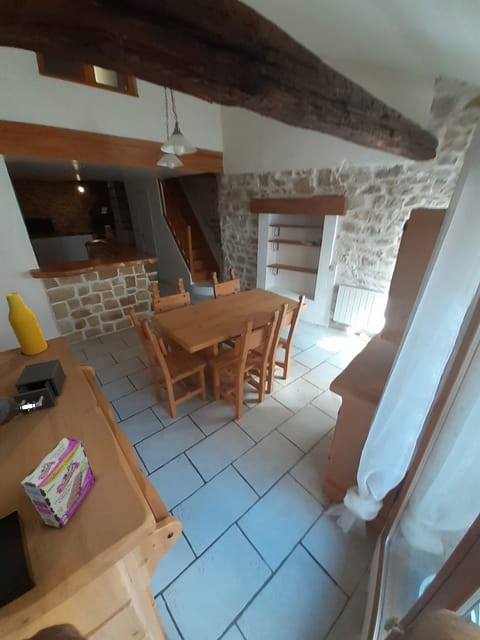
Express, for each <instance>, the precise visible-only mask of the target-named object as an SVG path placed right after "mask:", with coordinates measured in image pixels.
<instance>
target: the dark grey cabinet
mask: <svg viewBox="0 0 480 640" xmlns="http://www.w3.org/2000/svg"><path fill="white" fill-rule="evenodd" d="M65 379H66V374H65V372H64V369H63V367H62V364H61V361H60V359H53V360H49V361H43V362H38V363H33V364H27V365H25V366H24V368H23V370H22V371H21V373H20V376H19V377H18V378H17V380H16V383H15V385H14V386H15V388H16V390H17V392H18V393H19V390H20V388H21V386H23V385H28V384H32V383H37V382H42V381H47V380H51V383H52V385H53V388H54V390H55V392H56V396H57V397H60V396H61V392H62V389H63V385H64V384H65V383H64V382H65Z"/></svg>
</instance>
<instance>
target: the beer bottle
mask: <svg viewBox="0 0 480 640" xmlns="http://www.w3.org/2000/svg"><path fill="white" fill-rule="evenodd" d="M5 298H6V301H7V305H8V309H9V311H8V315H7V316H8V317H7V318H8V322H9V325H10V326H11V329H12V331H13V334H14V335H15V338H16V339H17V342H18V344H19V346H20V349H21V352H22V353H23V354H24V355H26V356H33V355H37V354H40V353H42V352H44V351H45V350H47V349H48V343H47V341H46V339H45V336H44V334H43V331H42V329H41V327H40V324H39V322H38V319H37V316H36V315H35V313H34V311H33V310H32V309H30V308H29V307H28V306H27V305H26V304H25V302H24V300H23V299H22V297H21V295H20V294H19V292H17V291H15V292H14V291H13V292H8V293H6V294H5Z"/></svg>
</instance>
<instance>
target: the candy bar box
mask: <svg viewBox="0 0 480 640" xmlns="http://www.w3.org/2000/svg"><path fill="white" fill-rule="evenodd" d="M88 459H89V458H88V457H87V454H86V451H85V449H84V446H83V444H82V441H81V440H78V439H72V438H68V437H63V438H62V439H61V440H60V441H59V442H58V443H57V444H56V445H55V446H54V447H53V449H51V450H50V451H49V453H48V454H47V455H46V456H45V457H43V459H42V460H41V461H40V462H39V463H38V464H37V465H36V466H35V467H34V468H33V469H32V471H31V472H30V473H29V474H28V475H27V476H26V477H25V478H24V479H23V480H22V481H21V482H20V485H21V487H22V488H23V490H24V491H25V493H26V495H27V497H28V498H29V500H30V501H31V503H32V505H33V506H34V508H35V509H36V511H37V513H38V514H39V516H40V518H41V519H42V521H43V522H44V524H45V525H48V526H52V527H55V528H60V529H63V528H64V527H65V525H66V524H67V522H68V521H69V520H70V518H71V516H72V515H73V514H74V512H75V511H76V510H77V508H78V506H79V505H80V504H81V502H82V501H83V499H84V498H85V497H86V494H87V493H88V492H89V491H90V489H91V487H92V486H93V484H94V483H95V481H96V478H95V475H94V473H93V470H92V467H91V464H90V463H89V460H88Z"/></svg>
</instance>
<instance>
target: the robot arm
mask: <svg viewBox="0 0 480 640" xmlns="http://www.w3.org/2000/svg"><path fill="white" fill-rule="evenodd" d="M35 410H36V401H32V402H29V403H27V404H26V405H24V404H17V403H16V402H15V400H14V398H13V397H12V398H11V397H10V396H3V395H0V427H4V426H6V425H7V424H9V423H10V422H12V421H13V419H14V418H17V417H23V416H27V415H28V414H30V413H33V412H35ZM36 411H37V410H36Z"/></svg>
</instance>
